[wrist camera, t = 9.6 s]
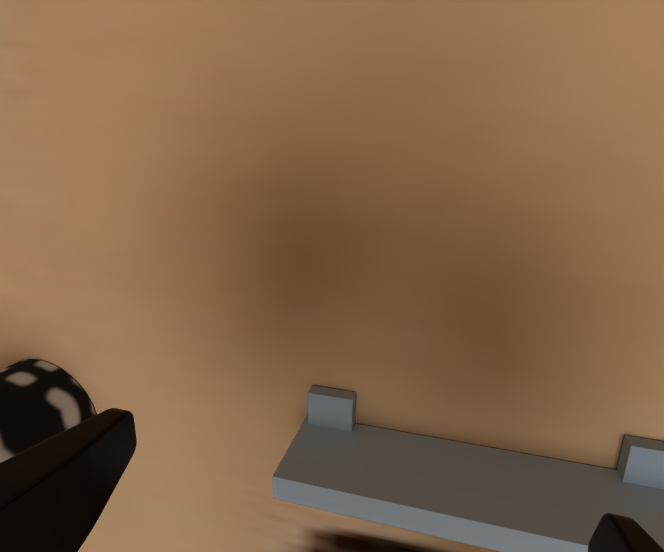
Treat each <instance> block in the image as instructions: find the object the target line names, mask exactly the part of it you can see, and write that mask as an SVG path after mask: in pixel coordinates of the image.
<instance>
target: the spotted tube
mask: <svg viewBox="0 0 664 552" xmlns="http://www.w3.org/2000/svg"><path fill="white" fill-rule="evenodd" d="M94 416H96V413H95V410H94V407H93V405H92V403H91V401H90V400H89V398H88V396H87V394H86V393H85V392H84V390H83V389H82V388H81V386H80V385H79V384H78V383H77V382H76V381H75V380H74V379H73V378H72V377H71V376H70V375H69V374H67V373H66V372H65V371H63V370H62V369H60V368H59V367H57V366H55V365H53V364H51V363H48V362H45V361H42V360H34V359H28V360H22V361H19V362H17V363H15V364H13V365H11V366H9V367H7V368H4V369H2V370H0V463H1V462H3V461H5V460H7V459H9V458H11V457H13V456H15V455H17V454H19V453H21V452H23V451H25V450H27V449H29V448H31V447H33V446H35V445H37V444H39V443H41V442H43V441H45V440H47V439H49V438H51V437H53V436H55V435H57V434H59V433H61V432H63V431H65V430H67V429H69V428H71V427H73V426H75V425H77V424H79V423H81V422H83V421H85V420H87V419H89V418H92V417H94Z"/></svg>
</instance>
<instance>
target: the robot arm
mask: <svg viewBox="0 0 664 552" xmlns="http://www.w3.org/2000/svg"><path fill="white" fill-rule="evenodd" d="M136 443H137V441H136V432H135V425H134V417H133V414H132V413H131V412H130V411H127V410H122V409H117V408H111V409H108V410H106V411H104V412H102V413H100V414H98V415H96V416H94V417H92V418H89V419H87V420H85V421H83V422H81V423H79V424H77V425H75V426H73V427H71V428H69V429H67V430H65V431H63V432H61V433H59V434H57V435H55V436H53V437H51V438H49V439H47V440H45V441H43V442H41V443H39V444H37V445H35V446H33V447H31V448H29V449H27V450H25V451H23V452H21V453H19V454H17V455H15V456H13V457H11V458H9V459H7V460H5V461H3V462H1V463H0V552H78V550H79V549H80V547H81V546H82V544H83V543H84V541H85V540H86V538H87V536H88V535H89V533H90V532H91V530H92V529H93V527H94V525H95V523H96V522H97V520H98V518H99V517H100V515H101V513H102V511H103V509H104V507H105V506H106V504H107V502H108V500H109V498H110V496H111V494H112V493H113V491H114V489H115V487H116V485H117V483H118V482H119V480H120V478H121V476H122V474H123V472H124V470H125V469H126V467H127V465H128V463H129V461H130V459H131V458H132V456H133V454H134V451H135V448H136ZM588 552H664V549H663V548H662V547H661V546H660V545H659V544H658V543H657V542H656V541H655V540H654V539H653V538H652V537H651V536H650V535H649V534H648V533H647V532H646V531H645V530H644V529H643V528H642V527H641V526H640V525H639V524H638V523H637V522H636V521H635V520H633V519H632V518H630V517H626V516H622V515H617V514H612V513H606V514H604V515H603V516H602V517H601V519H600V521H599V523H598V525H597V527H596V529H595V531H594V533H593V535H592V537H591V539H590V541H589V545H588Z"/></svg>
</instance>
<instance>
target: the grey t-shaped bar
mask: <svg viewBox="0 0 664 552" xmlns="http://www.w3.org/2000/svg"><path fill="white" fill-rule="evenodd" d="M355 404H356V392H352V391H345V390H339V389H333V388H327V387H320V386H314V385H313V386H312V388H311V389H310V391H309V392H308V415H307V417H306V418H305V420H304V422H303V424H302V425H301V427H300V429H299V431H298V432H297V434H296V436H295V438H294V439H293V441H292V443H291V445H290V447H289V448H288V450H287V452H286V454H285V455H284V457H283V459H282V461H281V462H280V464H279V466H278V468H277V469H276V471H275V473H274V475H273V476H272V479H273V499H278V500H282V501H286V502H291V503H295V504H299V505H303V506H308V507H312V508H316V509H321V510H325V511H329V512H333V513H338V514H342V515H346V516H350V517H355V518H359V519H363V520H368V521H372V522H376V523H380V524H385V525H389V526H393V527H398V528H402V529H406V530H410V531H415V532H419V533H423V534H428V535H432V536H436V537H440V538H445V539H449V540H453V541H458V542H462V543H466V544H470V545H475V546H479V547H483V548H488V549H492V550H496V551H500V552H588V545H589V541H590V539H591V537H592V535H593V533H594V531H595V529H596V527H597V525H598V523H599V521H600V519H601V517H602V516H603V515H604V514H606V513H612V514H617V515H622V516H626V517H630V518H632V519H633V520H635V521H636V522H637V523H638V524H639V525H640V526H641V527H642V528H643V529H644V530H645V531H646V532H647V533H648V534H649V535H650V536H651V537H652V538H653V539H654V540H655V541H656V542H657V543H658V544H659V545H660V546H661V547H662V548H663V549H664V441H658V440H652V439H646V438H640V437H633V436H627V435H625V436H624V440H623V445H622V449H621V453H620V457H619V462H618V466H617V470H614V469H608V468H603V467H597V466H592V465H586V464H580V463H575V462H569V461H563V460H558V459H552V458H547V457H541V456H535V455H530V454H524V453H519V452H513V451H507V450H502V449H496V448H491V447H485V446H479V445H474V444H468V443H462V442H457V441H451V440H446V439H440V438H434V437H429V436H423V435H418V434H412V433H406V432H401V431H395V430H389V429H384V428H378V427H373V426H367V425H361V424H356V423H355Z"/></svg>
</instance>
